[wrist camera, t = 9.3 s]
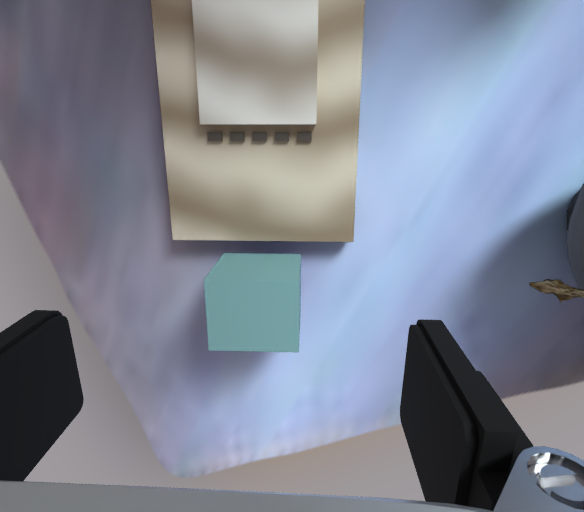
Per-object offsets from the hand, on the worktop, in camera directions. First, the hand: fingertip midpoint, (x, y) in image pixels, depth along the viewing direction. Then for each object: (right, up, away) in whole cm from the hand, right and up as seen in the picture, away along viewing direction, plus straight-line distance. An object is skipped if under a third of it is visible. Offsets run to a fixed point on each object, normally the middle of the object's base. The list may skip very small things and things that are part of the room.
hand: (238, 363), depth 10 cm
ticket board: (-1, +13, +19) cm, 23 cm away
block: (-1, +1, +20) cm, 20 cm away
